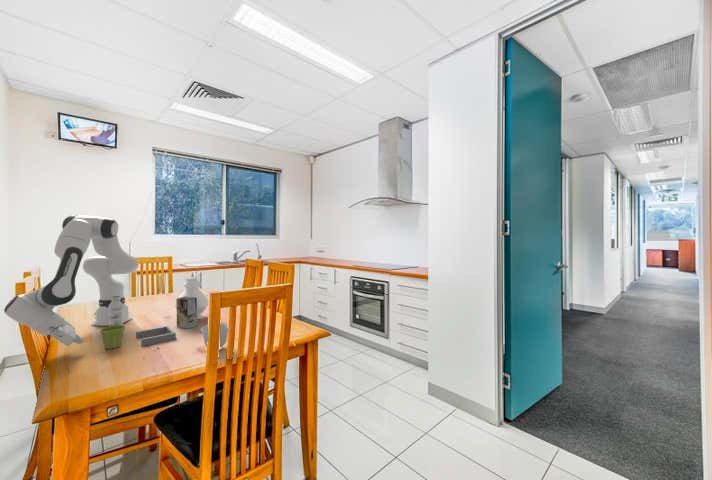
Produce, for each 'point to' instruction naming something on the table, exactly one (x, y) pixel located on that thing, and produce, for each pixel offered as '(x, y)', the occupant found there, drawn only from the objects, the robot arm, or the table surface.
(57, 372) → the table surface
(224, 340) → the teacup
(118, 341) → the plant pot
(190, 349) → the table surface
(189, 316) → the coffee box
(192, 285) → the decorative vase
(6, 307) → the robot arm
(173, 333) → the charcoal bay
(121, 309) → the plastic bottle
